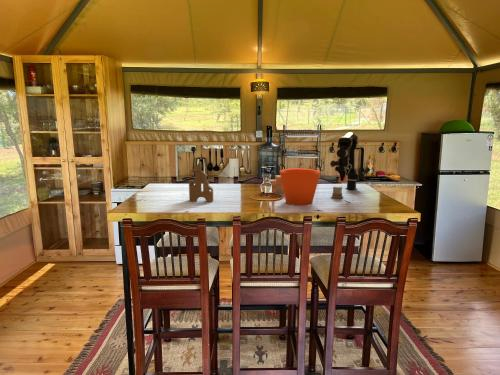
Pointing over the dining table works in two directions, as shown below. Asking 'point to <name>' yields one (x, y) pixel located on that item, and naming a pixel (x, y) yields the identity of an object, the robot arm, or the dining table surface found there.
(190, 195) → the wooden toy
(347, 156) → the robot arm
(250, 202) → the dining table surface
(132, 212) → the dining table surface
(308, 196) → the flowerpot
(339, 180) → the terracotta block
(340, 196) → the walnut base
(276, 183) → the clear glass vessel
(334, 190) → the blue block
